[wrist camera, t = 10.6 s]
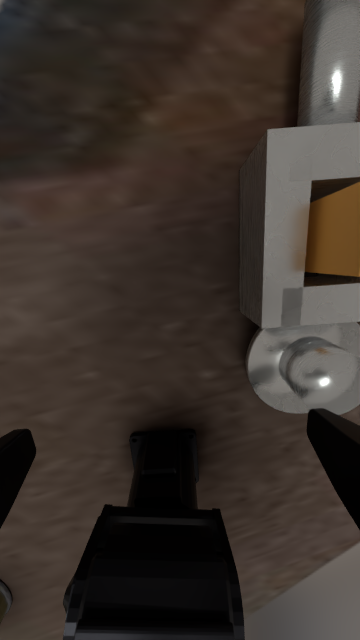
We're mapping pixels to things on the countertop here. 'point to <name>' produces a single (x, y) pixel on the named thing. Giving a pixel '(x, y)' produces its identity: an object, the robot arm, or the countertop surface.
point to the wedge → (335, 234)
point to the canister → (4, 600)
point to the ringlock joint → (304, 228)
